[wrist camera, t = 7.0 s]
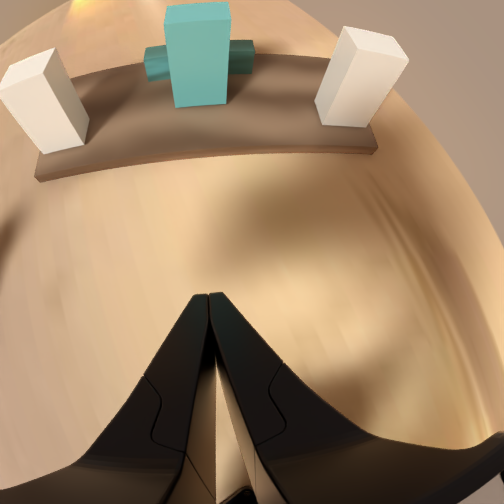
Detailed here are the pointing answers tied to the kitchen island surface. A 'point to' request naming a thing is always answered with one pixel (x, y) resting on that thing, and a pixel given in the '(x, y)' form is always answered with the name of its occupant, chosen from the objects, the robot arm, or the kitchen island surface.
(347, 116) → the grey key
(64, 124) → the grey key
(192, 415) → the robot arm
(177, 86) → the teal key
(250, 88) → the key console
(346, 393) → the kitchen island surface
